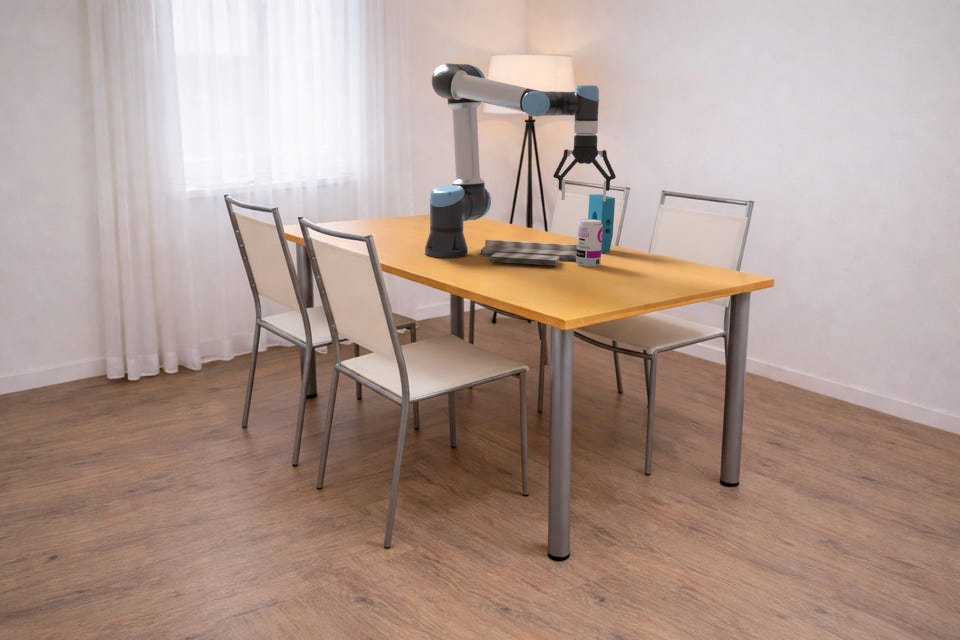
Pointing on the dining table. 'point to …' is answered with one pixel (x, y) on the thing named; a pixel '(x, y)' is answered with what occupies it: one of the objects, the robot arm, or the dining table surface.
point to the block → (603, 217)
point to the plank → (524, 258)
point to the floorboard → (530, 249)
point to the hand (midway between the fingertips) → (583, 200)
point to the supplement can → (589, 243)
